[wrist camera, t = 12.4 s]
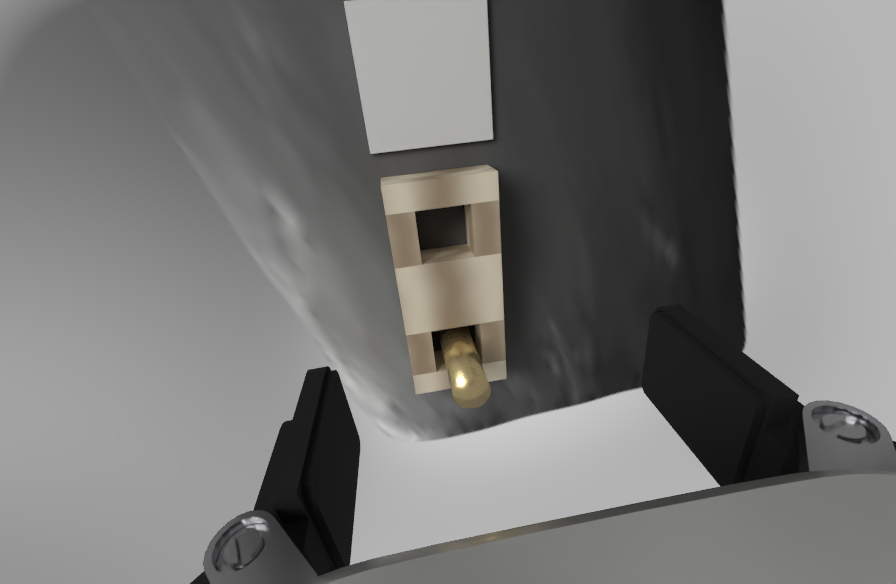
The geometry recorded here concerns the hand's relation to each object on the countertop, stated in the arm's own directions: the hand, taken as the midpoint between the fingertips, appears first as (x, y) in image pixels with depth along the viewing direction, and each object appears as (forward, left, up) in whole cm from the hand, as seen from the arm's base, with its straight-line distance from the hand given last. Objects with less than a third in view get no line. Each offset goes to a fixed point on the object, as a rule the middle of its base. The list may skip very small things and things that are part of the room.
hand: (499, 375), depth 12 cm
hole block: (-1, +8, -25) cm, 26 cm away
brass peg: (-1, +14, -25) cm, 29 cm away
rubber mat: (-1, -9, -25) cm, 27 cm away
